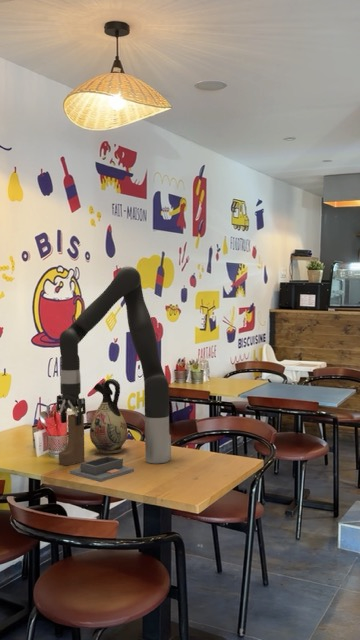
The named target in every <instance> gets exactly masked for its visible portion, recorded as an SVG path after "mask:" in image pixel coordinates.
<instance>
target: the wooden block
mask: <svg viewBox="0 0 360 640" xmlns="http://www.w3.org/2000/svg"><path fill="white" fill-rule="evenodd" d="M84 415H85V414H83V415H82V423H81V425H80V426H76V425H75V416H76V415H75V413H72V414H68V415H67V437H68V438H67V441H68V442H67V446H66V447H65V449H64V450H62V451H59V452H58V464H59V465H61V466H71V465H74V464H78V463H84V462H85V422H84V421H85V420H84V419H85V417H84Z"/></svg>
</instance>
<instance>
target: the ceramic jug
mask: <svg viewBox="0 0 360 640" xmlns="http://www.w3.org/2000/svg"><path fill="white" fill-rule="evenodd" d="M110 385H113V386H114V394H113V390H112V389H111V387H110ZM93 390H94V391H96V392H98V393H100V394H101V395H102V401H101V403H100V404H99V406H98V407H97V410H96V411H95V414H93V417H92V420H91V422H90V428H89V439H90V442H91V443H92V444H93V445H94V447H95V448H96V449H97V452H98V453H99V454H115V453H120V452H121V451H122V446H123V445H124V444H125V443H126V441H127V438H128V432H129V431H128V426H127V422H126V420H125V418H124V415H123V414H122V413H121V411H120V409H119V406H118V402H119V398H120V393H121V385H120V382H119V381H118V380H116V379H114V378H108V379H107V380H105V381H102V382H101V383H99V382H97V383H96V384H95V385H94V386H93ZM112 396H113V399H112Z"/></svg>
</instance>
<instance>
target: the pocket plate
mask: <svg viewBox="0 0 360 640" xmlns="http://www.w3.org/2000/svg"><path fill="white" fill-rule="evenodd" d="M123 460H124V459H123V458H119V457H114V456H109V455H107V456H102V457H98V458H95V459H91V460H88V461H83V462H80V467H79V468H75V469H71V470H69V474H70V475H74V476H79V477H82V478H86V479H89V480H93V481H97V482H103V481H107V480H111V479H114V478H117V477H120V476H123V475H126V474H129V473H130V474H131V473H133V472H134V471H135V470H134V468H133V467H129V466H124V462H123Z"/></svg>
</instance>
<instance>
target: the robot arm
mask: <svg viewBox="0 0 360 640" xmlns="http://www.w3.org/2000/svg"><path fill="white" fill-rule="evenodd" d="M141 280H142V278H141V274H140V272H139V271H138V270H137V268H135V267H133V266H124V267H122V268H120V269H119V270H118V272H116V275H115V276H114V278H113V279H112V281H111V283H110V284H109V285H108V286H107V287H106V288H105V289H104V291H103V292H101V294H99V296H98V297H97V298H96V299H95V300H93V301H92V303H90V304H89V305H88V306H87V307H86V308H85V309H84V310H83V311H82V312H81V313H80V314H79V315H78V316H77V318H76V320H75V321H74V322H73V323H72V324H71V325H70V326H68V327H67V328H66V329H65V330H63V331H62V332H61V333H60V335H59V339H58V340H59V341H58V342H59V351H60V376H59V378H60V380H59V381H60V382H59V383H60V385H59V386H60V387H59V388H60V395H57V396H56V405H55V407H56V408H55V409H56V412H59V413H60V423H61V424H65V423H68V415H67V411H68V409H69V410H72V412H74V413H73V414H75V415H76V416H75V425H76V426H80V425H81V423H82V415H86V411H87V410H86V398H84V397H82V398H80V394H81V391H82V390H81V388H82V387H81V370H80V369H81V368H80V361H81V360H80V356H79V343H81V341H83V339H84V338H85V337H86V336H87V334H88V333H89V332H90V331H92V330H93V328H94V327H96V325H98V324H99V322H100V321H102V319H103V318H104V317H105V316H106V315H107V314H108V313H109V312H110V310H111V309H112V307H114V306H115V304H116V303H118V301H119V300H121V299H122V298H123V299H124V303H125V308H126V316H127V317H126V318H127V325H128V330H129V333H130V334H129V335H130V337H131V341H132V344H133V347H134V349H135V352H136V355H137V357H138V359H139V362H140V365H141V369H142V374H143V383H144V389H143V390H144V393H143V394H144V445H145V447H144V448H145V449H144V453H145V455H144V456H145V462H146V463H149V464H165V463H168V462H170V460H172V435H171V434H170V385H169V381H168V379H167V377H166V375H165V371H164V369H163V366H162V364H161V360H160V357H159V349H158V348H159V347H158V346H159V345H158V341H157V340H158V339H157V335H156V332H155V331H156V330H155V328H154V323H153V321H152V317H151V314H150V312H149V309H148V307H147V304H146V302H145V298H144V294H143V293H144V291H143V288H142V287H143V286H142V281H141Z"/></svg>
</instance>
